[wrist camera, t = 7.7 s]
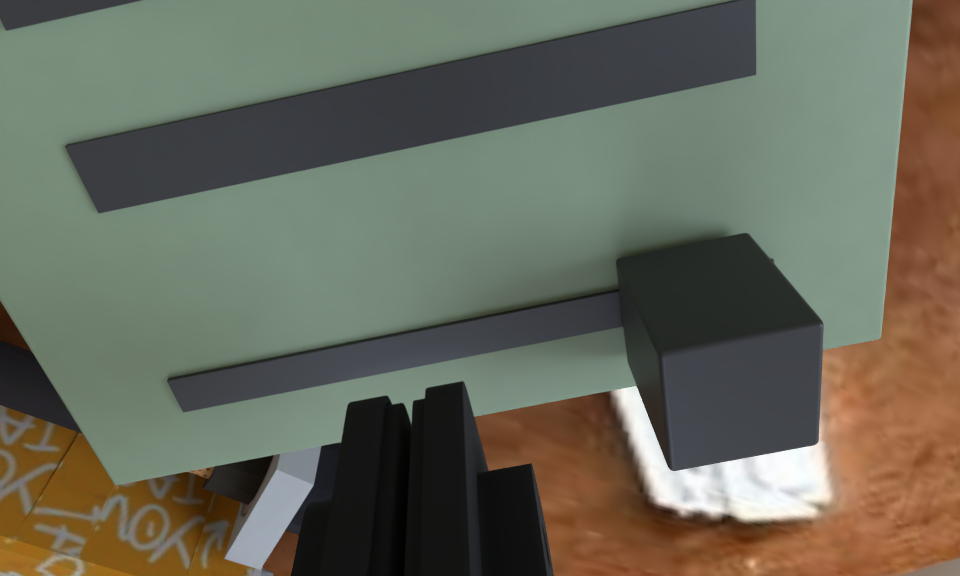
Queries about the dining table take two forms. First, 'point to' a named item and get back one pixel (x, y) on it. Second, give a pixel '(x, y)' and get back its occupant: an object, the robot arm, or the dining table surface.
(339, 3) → the toaster
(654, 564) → the dining table surface
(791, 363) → the slider
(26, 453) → the device
